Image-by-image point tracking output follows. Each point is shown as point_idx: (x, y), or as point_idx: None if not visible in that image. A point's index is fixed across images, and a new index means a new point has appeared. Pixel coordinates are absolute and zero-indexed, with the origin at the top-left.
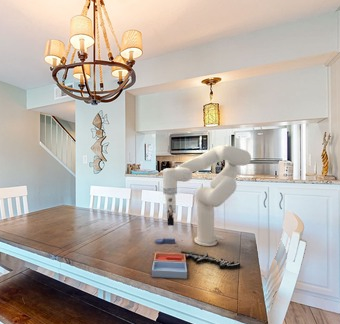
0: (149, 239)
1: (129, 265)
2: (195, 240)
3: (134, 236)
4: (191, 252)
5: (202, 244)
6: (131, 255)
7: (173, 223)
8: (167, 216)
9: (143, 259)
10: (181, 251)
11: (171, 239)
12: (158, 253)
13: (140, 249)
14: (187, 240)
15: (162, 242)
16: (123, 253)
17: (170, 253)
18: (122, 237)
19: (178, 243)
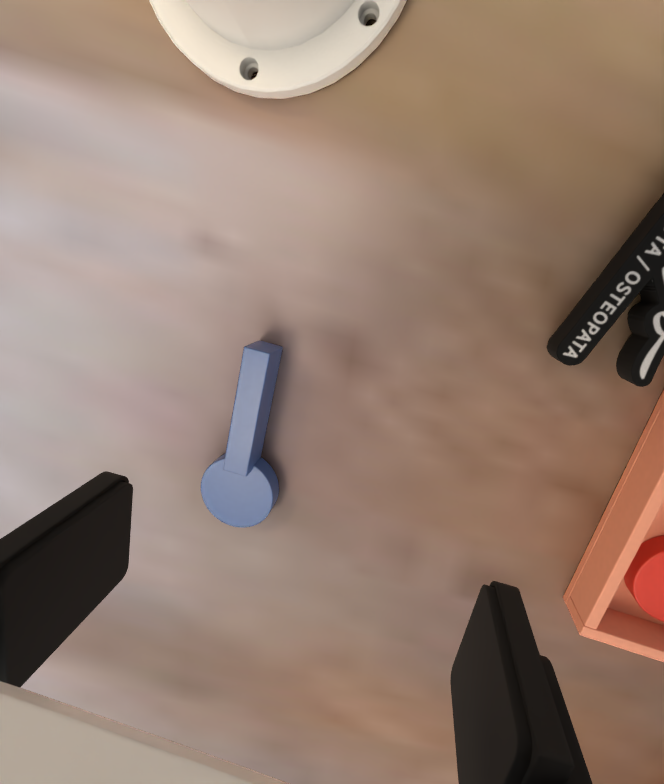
0: (174, 550)
1: (631, 781)
2: (276, 82)
3: (109, 643)
4: (635, 255)
5: (394, 14)
6: None
7: (522, 618)
8: (71, 625)
9: (562, 681)
10: (573, 362)
11: (262, 390)
12: (603, 610)
13: (371, 659)
14: (215, 180)
15: (267, 468)
16: (420, 773)
17: (656, 513)
18: (130, 722)
19: (287, 309)
